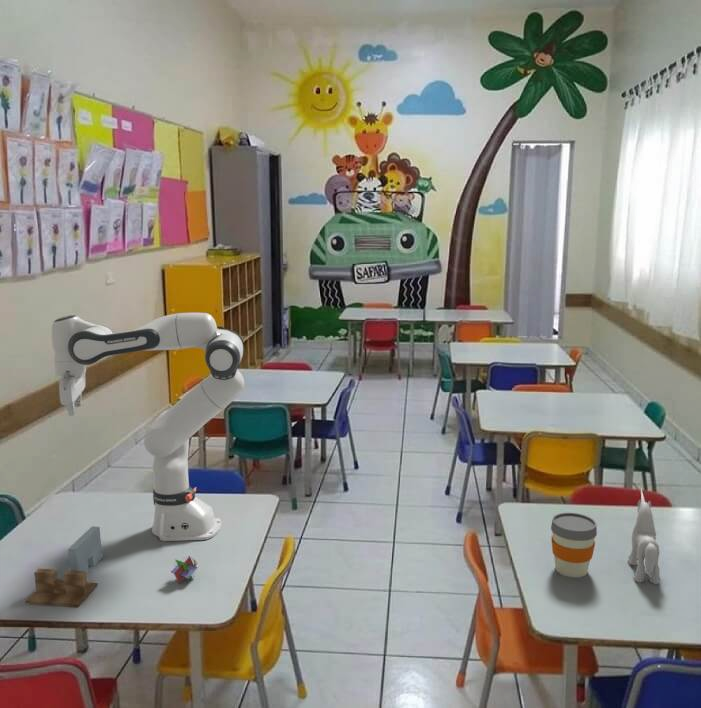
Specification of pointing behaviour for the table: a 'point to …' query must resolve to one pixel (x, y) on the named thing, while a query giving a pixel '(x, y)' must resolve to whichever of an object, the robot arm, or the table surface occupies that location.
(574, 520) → the reusable coffee cup
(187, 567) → the geometric puzzle
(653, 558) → the unicorn
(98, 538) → the slotted plate
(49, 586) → the jig
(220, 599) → the table surface
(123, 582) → the table surface
